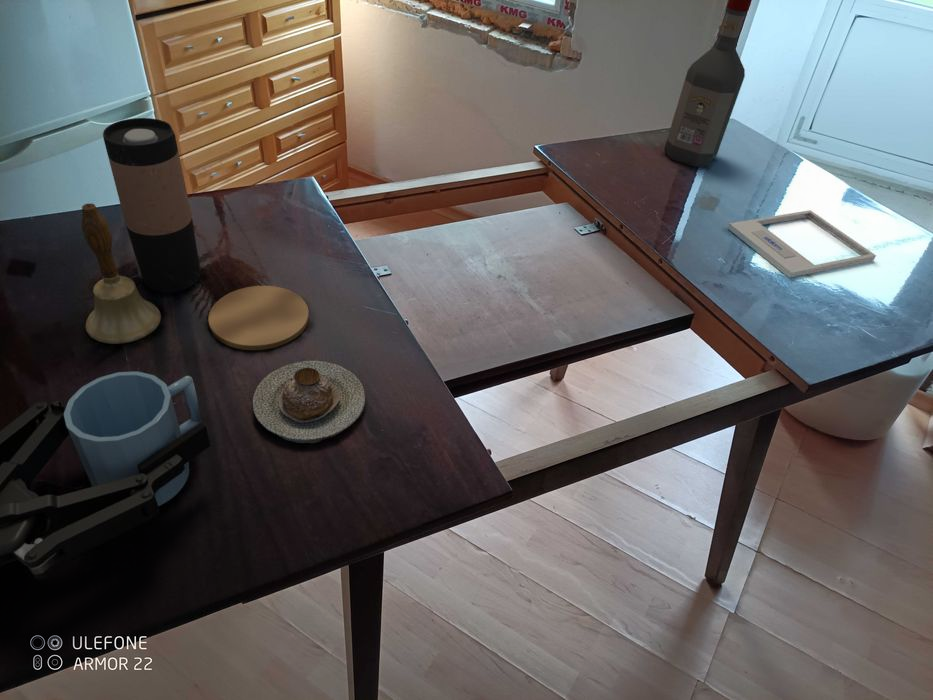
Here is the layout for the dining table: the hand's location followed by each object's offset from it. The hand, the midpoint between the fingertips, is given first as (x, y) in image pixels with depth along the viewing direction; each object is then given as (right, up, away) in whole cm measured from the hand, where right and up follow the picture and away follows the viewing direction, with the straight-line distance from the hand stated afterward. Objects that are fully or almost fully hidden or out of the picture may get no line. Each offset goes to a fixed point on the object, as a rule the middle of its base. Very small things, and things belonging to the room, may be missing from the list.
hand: (170, 408), depth 65 cm
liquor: (+72, +44, +69) cm, 109 cm away
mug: (-2, -6, +2) cm, 7 cm away
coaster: (+2, +10, +20) cm, 23 cm away
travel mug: (-11, +15, +25) cm, 31 cm away
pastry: (+11, -1, +10) cm, 15 cm away
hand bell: (-13, +9, +18) cm, 24 cm away
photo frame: (+83, +23, +47) cm, 98 cm away
